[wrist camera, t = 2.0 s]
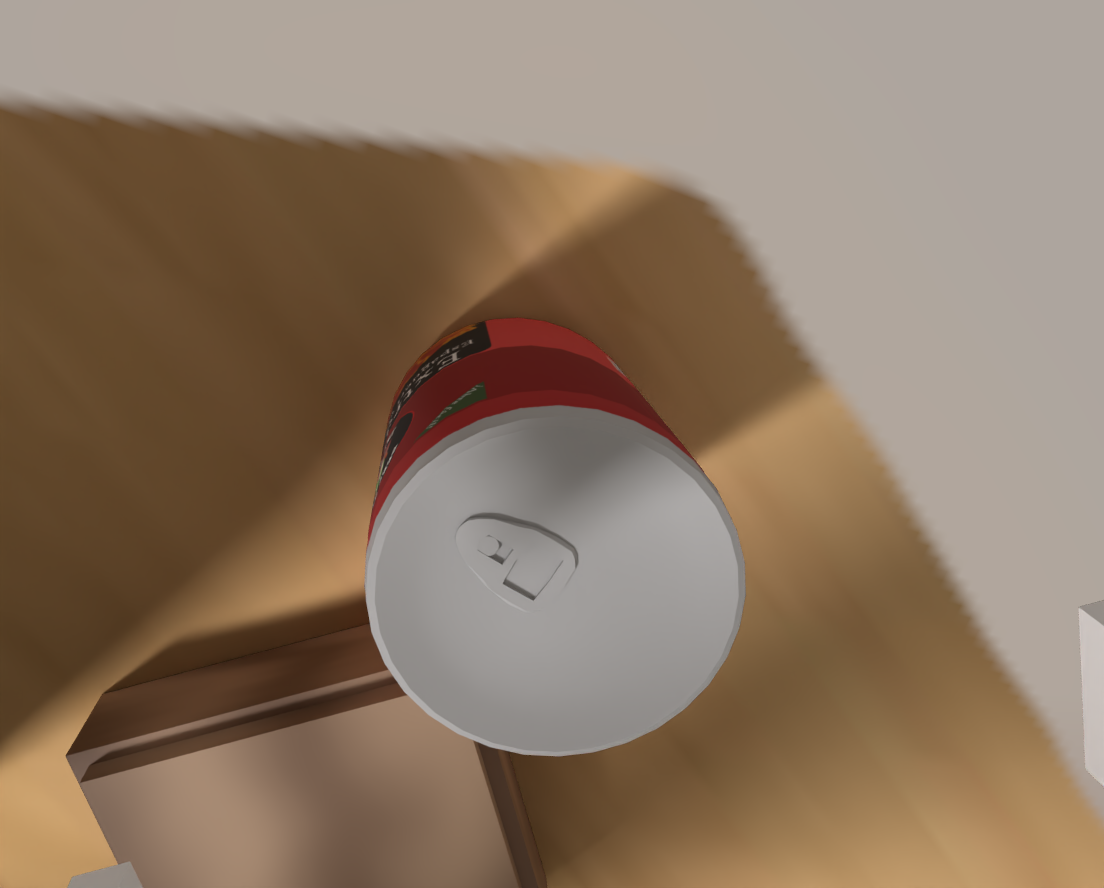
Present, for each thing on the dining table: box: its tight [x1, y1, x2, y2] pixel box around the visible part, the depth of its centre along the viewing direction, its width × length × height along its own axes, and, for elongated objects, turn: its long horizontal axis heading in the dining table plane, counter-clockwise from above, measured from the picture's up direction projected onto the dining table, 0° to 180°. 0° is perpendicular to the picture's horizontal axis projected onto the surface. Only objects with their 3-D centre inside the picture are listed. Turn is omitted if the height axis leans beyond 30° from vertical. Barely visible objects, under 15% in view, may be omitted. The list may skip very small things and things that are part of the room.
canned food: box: [364, 318, 746, 756], centre depth 24 cm, size 8×8×11 cm
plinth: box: [66, 623, 547, 888], centre depth 31 cm, size 12×12×4 cm
